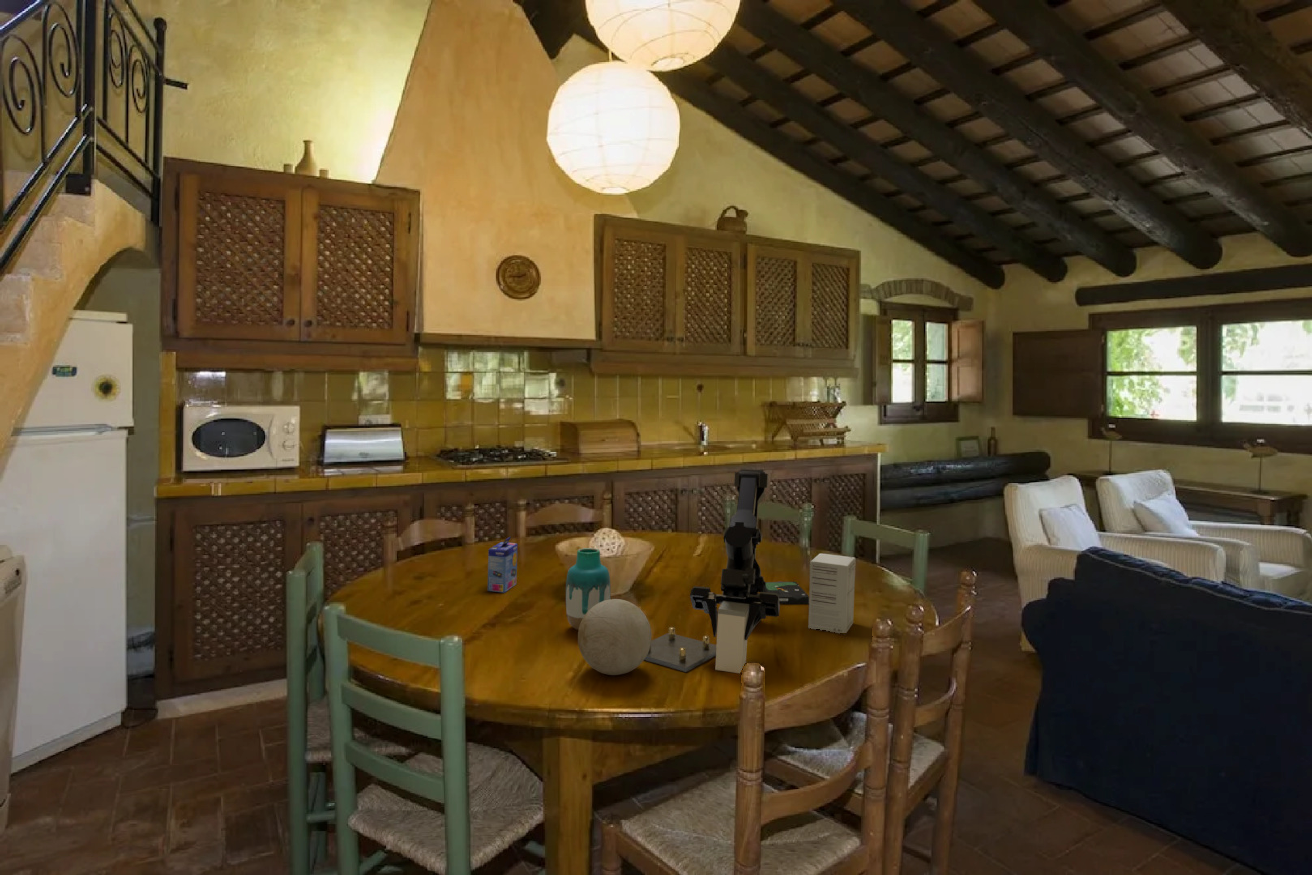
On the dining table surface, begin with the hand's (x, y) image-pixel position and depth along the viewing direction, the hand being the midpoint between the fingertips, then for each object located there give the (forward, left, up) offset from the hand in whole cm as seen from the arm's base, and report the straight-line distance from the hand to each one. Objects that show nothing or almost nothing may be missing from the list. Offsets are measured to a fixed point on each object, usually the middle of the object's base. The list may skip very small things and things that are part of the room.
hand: (729, 637), depth 156 cm
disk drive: (-57, -1, -7) cm, 57 cm away
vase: (-10, -38, -7) cm, 40 cm away
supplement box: (-37, +15, -7) cm, 40 cm away
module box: (-2, 0, -7) cm, 7 cm away
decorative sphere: (+11, -21, -7) cm, 25 cm away
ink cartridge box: (-31, -76, -7) cm, 83 cm away
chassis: (-4, -13, -7) cm, 15 cm away
